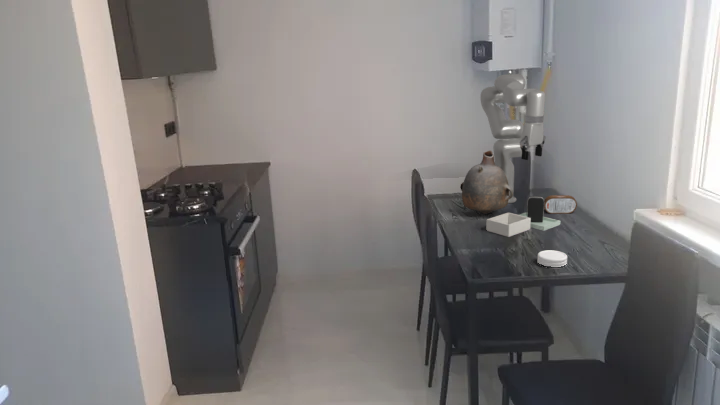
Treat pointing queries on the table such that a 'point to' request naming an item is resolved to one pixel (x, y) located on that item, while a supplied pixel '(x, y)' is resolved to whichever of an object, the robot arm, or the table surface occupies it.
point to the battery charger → (535, 208)
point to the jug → (486, 186)
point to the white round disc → (552, 258)
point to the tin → (560, 204)
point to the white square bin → (508, 224)
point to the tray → (543, 223)
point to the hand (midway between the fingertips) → (531, 157)
